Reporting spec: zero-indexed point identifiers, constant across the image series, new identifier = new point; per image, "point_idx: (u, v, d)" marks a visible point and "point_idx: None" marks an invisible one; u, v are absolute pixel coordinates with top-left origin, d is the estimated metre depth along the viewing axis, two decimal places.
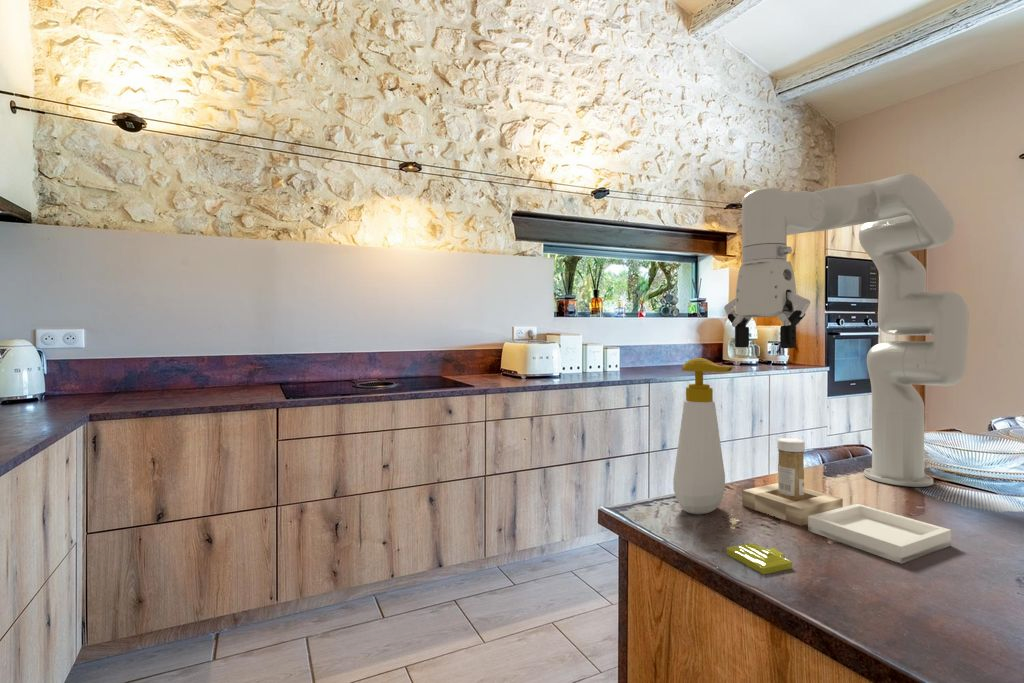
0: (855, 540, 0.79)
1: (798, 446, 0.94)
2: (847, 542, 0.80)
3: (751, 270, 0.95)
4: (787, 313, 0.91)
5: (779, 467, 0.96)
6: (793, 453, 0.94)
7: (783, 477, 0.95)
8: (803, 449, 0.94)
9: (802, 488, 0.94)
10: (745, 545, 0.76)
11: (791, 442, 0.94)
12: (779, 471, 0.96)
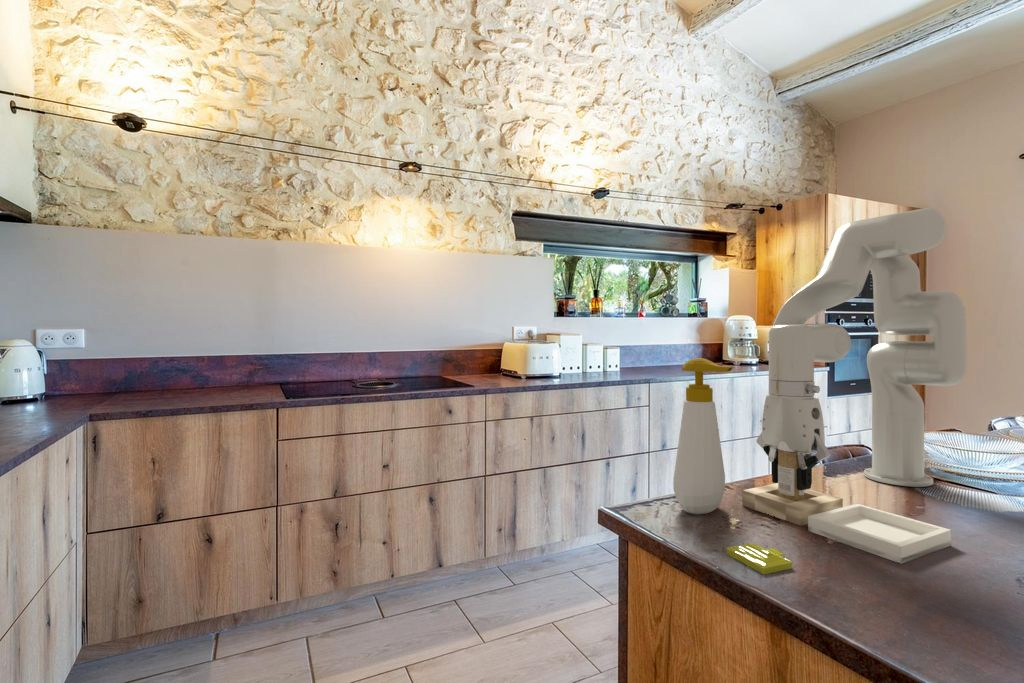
0: (855, 540, 0.79)
1: None
2: (847, 542, 0.80)
3: (778, 403, 0.95)
4: (808, 454, 0.93)
5: (779, 467, 0.96)
6: (792, 453, 0.94)
7: (782, 477, 0.95)
8: None
9: None
10: (745, 545, 0.76)
11: None
12: (779, 471, 0.96)
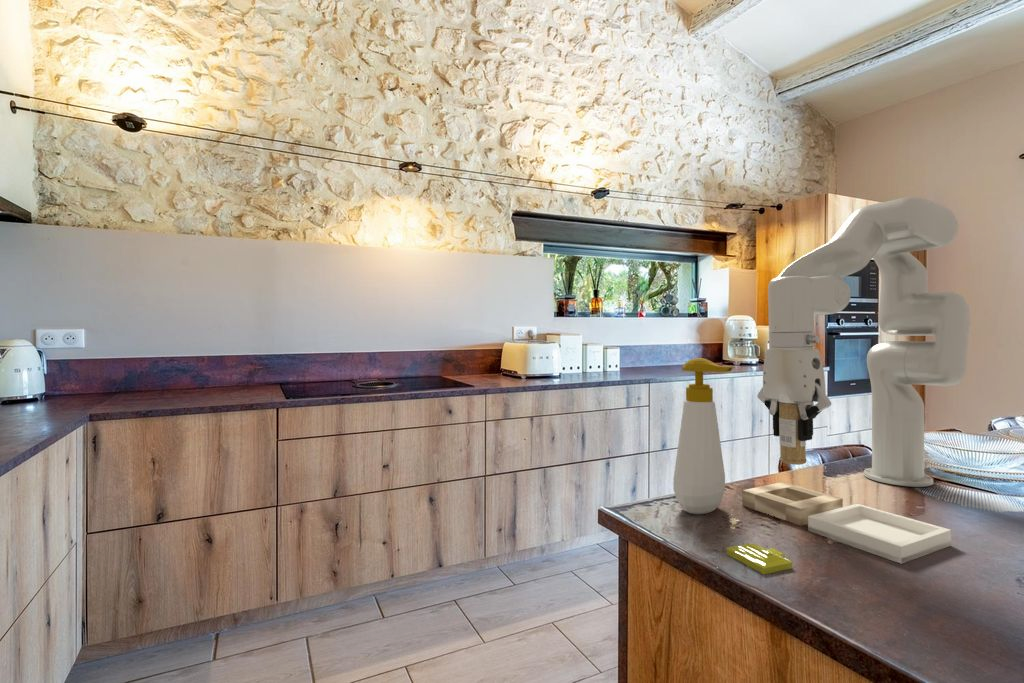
0: (855, 540, 0.79)
1: None
2: (847, 542, 0.80)
3: (779, 355, 0.95)
4: (809, 405, 0.94)
5: (780, 420, 0.96)
6: (793, 405, 0.94)
7: (784, 429, 0.95)
8: None
9: None
10: (745, 545, 0.76)
11: None
12: (780, 424, 0.96)
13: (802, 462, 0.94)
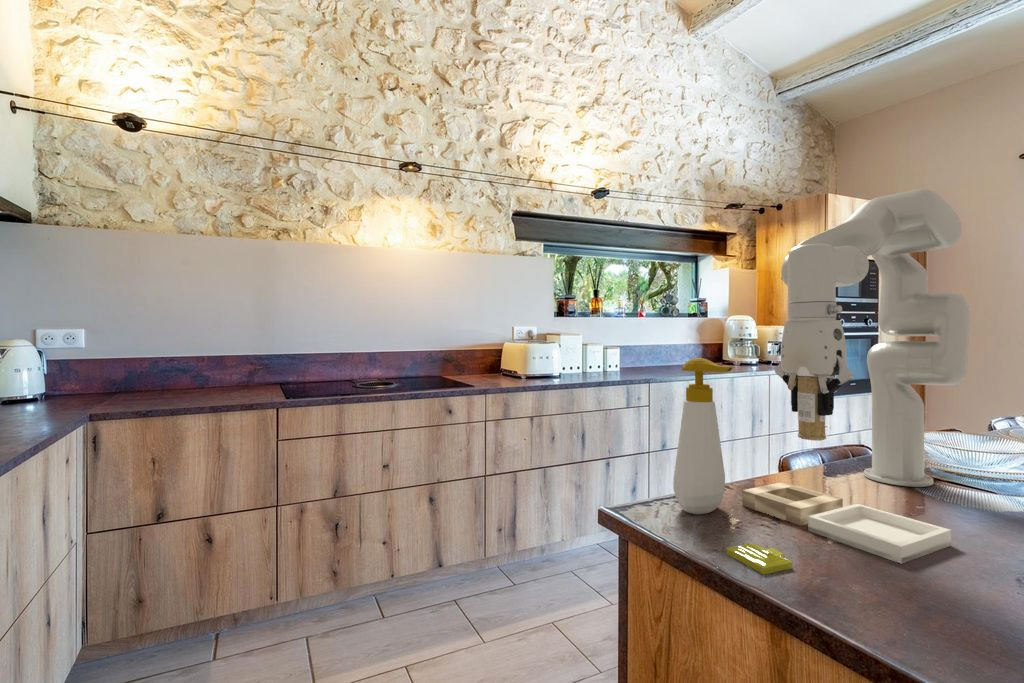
0: (855, 540, 0.79)
1: None
2: (847, 542, 0.80)
3: (798, 327, 0.92)
4: (829, 378, 0.90)
5: (799, 394, 0.92)
6: (813, 378, 0.90)
7: (802, 403, 0.92)
8: None
9: None
10: (745, 545, 0.76)
11: None
12: (799, 398, 0.93)
13: (821, 438, 0.90)
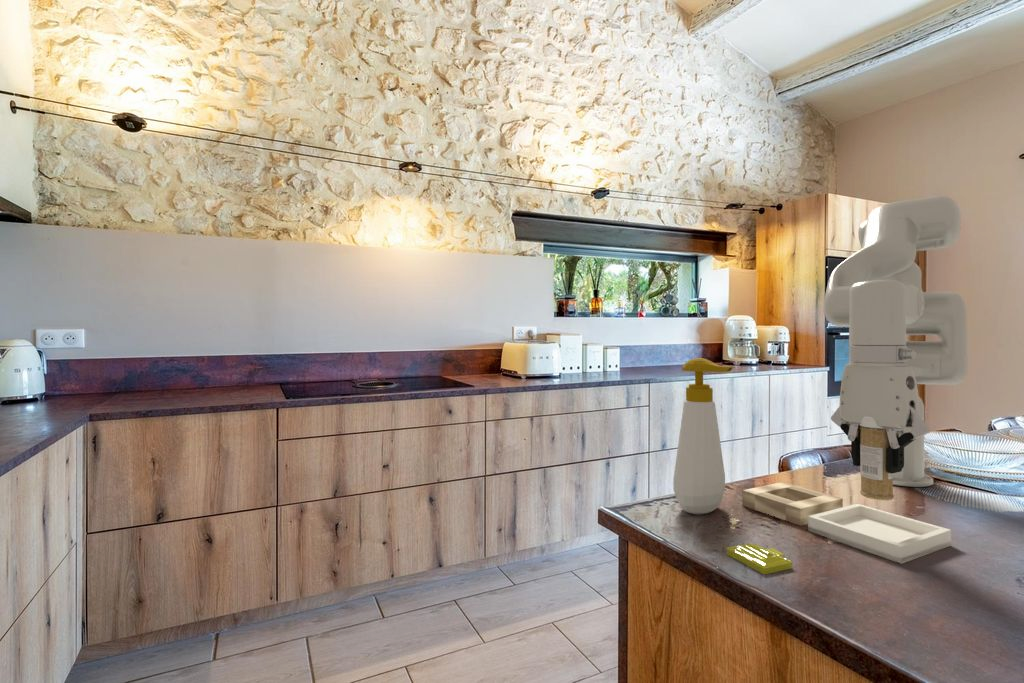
0: (855, 540, 0.79)
1: None
2: (847, 542, 0.80)
3: (862, 372, 0.82)
4: (899, 431, 0.80)
5: (862, 447, 0.82)
6: (880, 430, 0.80)
7: (867, 458, 0.82)
8: None
9: None
10: (745, 545, 0.76)
11: None
12: (862, 451, 0.83)
13: (890, 498, 0.80)
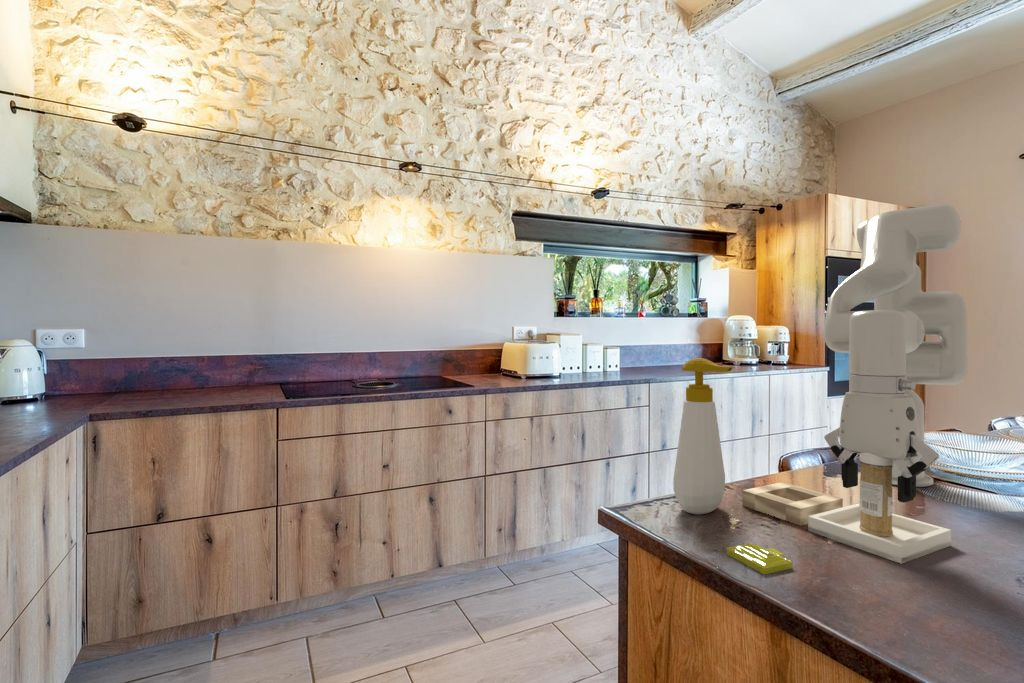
0: (855, 540, 0.79)
1: (887, 459, 0.80)
2: (847, 542, 0.80)
3: (862, 401, 0.82)
4: (906, 459, 0.79)
5: (862, 483, 0.83)
6: (881, 467, 0.81)
7: (867, 494, 0.82)
8: (892, 462, 0.81)
9: (891, 507, 0.81)
10: (745, 545, 0.76)
11: None
12: (862, 487, 0.83)
13: (889, 535, 0.81)
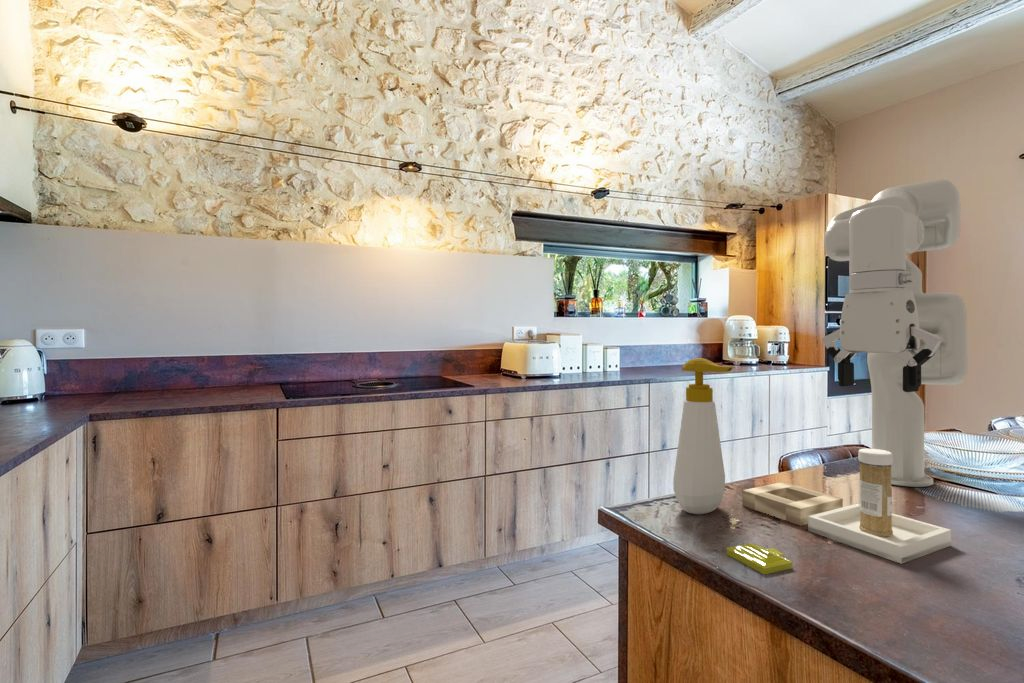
0: (855, 540, 0.79)
1: (886, 459, 0.81)
2: (847, 542, 0.80)
3: (863, 299, 0.82)
4: (909, 351, 0.79)
5: (862, 483, 0.83)
6: (880, 467, 0.81)
7: (867, 494, 0.82)
8: (891, 462, 0.81)
9: (890, 507, 0.81)
10: (745, 545, 0.76)
11: (878, 454, 0.81)
12: (862, 487, 0.83)
13: (889, 535, 0.81)
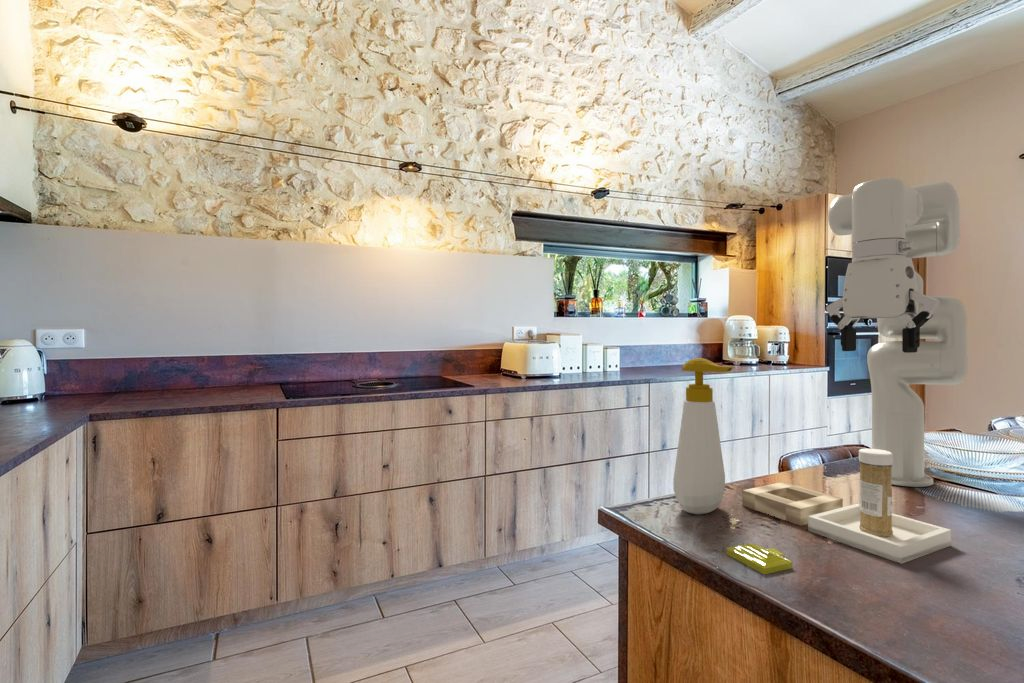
0: (855, 540, 0.79)
1: (887, 459, 0.81)
2: (847, 542, 0.80)
3: (864, 267, 0.87)
4: (908, 314, 0.84)
5: (862, 483, 0.83)
6: (880, 467, 0.81)
7: (867, 494, 0.82)
8: (892, 462, 0.81)
9: (890, 507, 0.81)
10: (745, 545, 0.76)
11: (878, 454, 0.81)
12: (862, 487, 0.83)
13: (889, 535, 0.81)
